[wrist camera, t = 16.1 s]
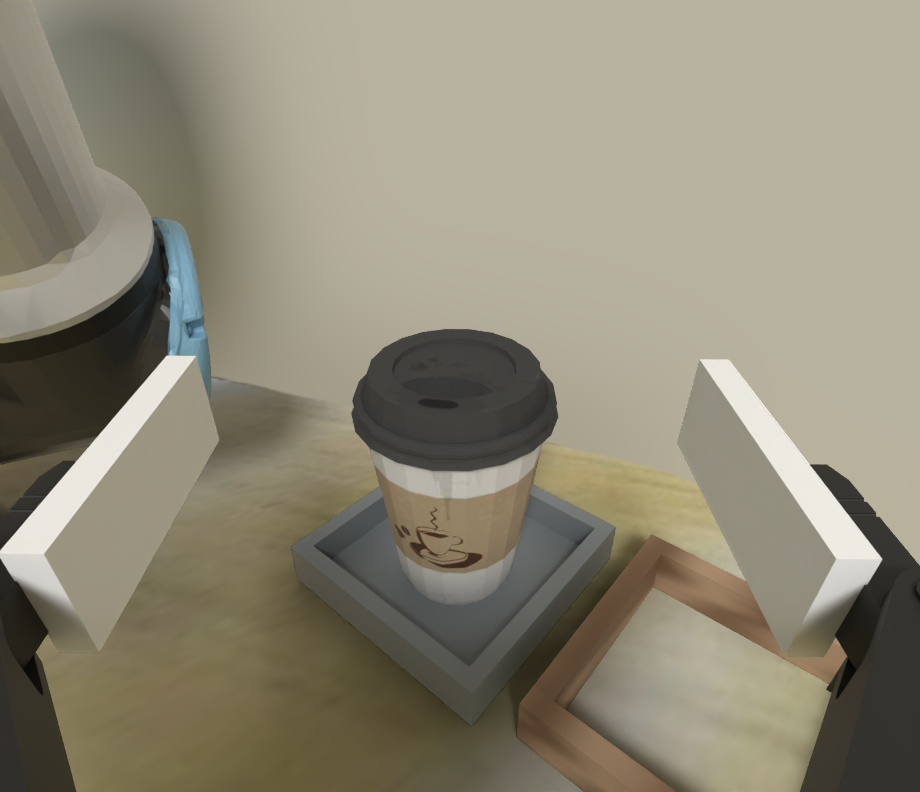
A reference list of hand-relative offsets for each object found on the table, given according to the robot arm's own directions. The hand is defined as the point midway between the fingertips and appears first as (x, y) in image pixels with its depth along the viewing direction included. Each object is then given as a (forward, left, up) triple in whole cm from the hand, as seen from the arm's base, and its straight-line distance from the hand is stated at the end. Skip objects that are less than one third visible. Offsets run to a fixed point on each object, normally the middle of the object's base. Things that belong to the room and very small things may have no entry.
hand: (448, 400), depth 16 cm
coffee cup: (-9, +11, -22) cm, 26 cm away
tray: (-9, +11, -22) cm, 26 cm away
